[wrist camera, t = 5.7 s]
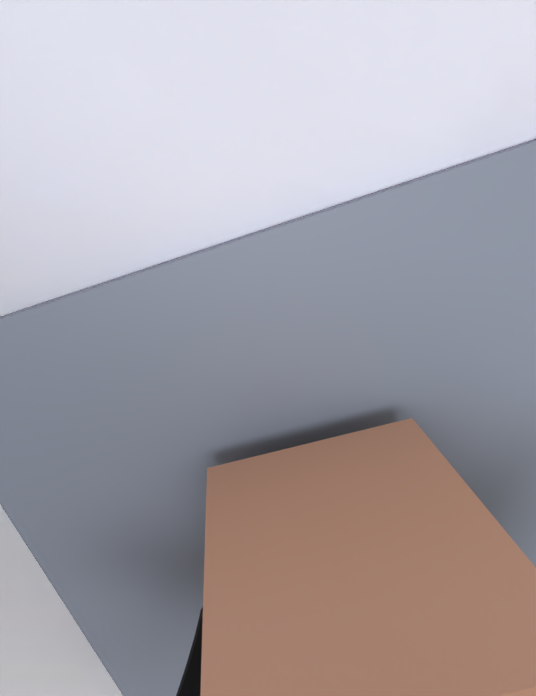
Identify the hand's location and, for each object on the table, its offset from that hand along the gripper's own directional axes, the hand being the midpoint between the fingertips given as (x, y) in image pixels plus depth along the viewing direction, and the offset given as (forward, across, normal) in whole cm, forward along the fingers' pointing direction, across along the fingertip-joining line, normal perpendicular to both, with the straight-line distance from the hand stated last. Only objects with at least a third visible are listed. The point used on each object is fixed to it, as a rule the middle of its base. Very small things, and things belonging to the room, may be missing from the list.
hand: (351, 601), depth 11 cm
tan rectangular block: (+2, 0, 0) cm, 2 cm away
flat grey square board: (+4, 0, 0) cm, 4 cm away
